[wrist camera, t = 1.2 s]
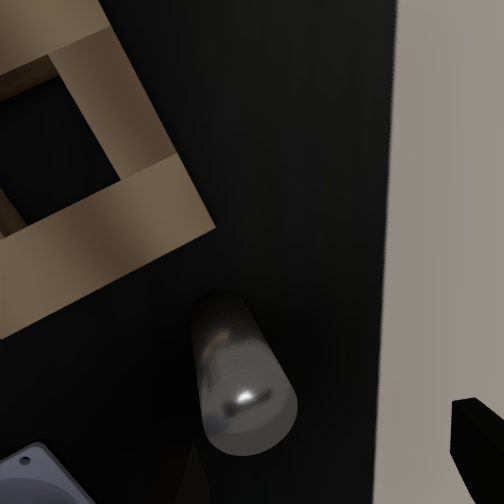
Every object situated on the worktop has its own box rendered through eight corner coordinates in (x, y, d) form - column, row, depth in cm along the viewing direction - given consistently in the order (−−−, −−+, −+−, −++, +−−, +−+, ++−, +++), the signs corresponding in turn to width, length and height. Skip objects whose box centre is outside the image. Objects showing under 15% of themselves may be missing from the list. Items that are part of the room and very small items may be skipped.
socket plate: (24, 315, 17) (1, 339, 15) (-171, 62, 13) (-243, 39, 11) (209, 219, 18) (215, 227, 16) (73, -41, 14) (54, -82, 12)
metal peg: (206, 354, 20) (229, 472, 12) (178, 308, 19) (184, 403, 11) (257, 326, 20) (311, 423, 12) (232, 279, 19) (274, 352, 11)
